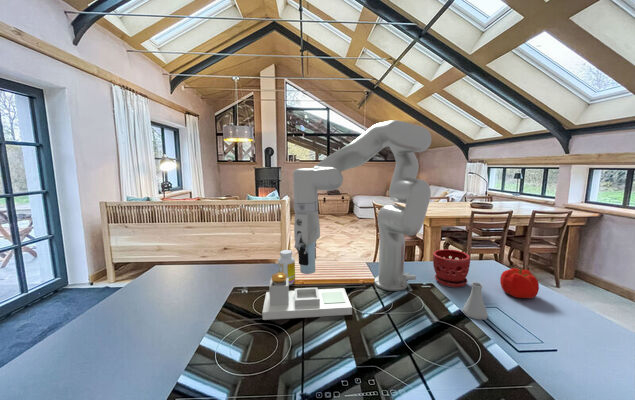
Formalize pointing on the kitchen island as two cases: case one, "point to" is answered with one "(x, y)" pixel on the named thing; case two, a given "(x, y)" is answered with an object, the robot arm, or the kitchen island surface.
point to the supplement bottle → (287, 265)
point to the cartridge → (309, 260)
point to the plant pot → (451, 267)
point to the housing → (304, 302)
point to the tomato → (519, 283)
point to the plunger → (279, 278)
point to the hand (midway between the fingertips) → (307, 261)
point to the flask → (475, 303)
